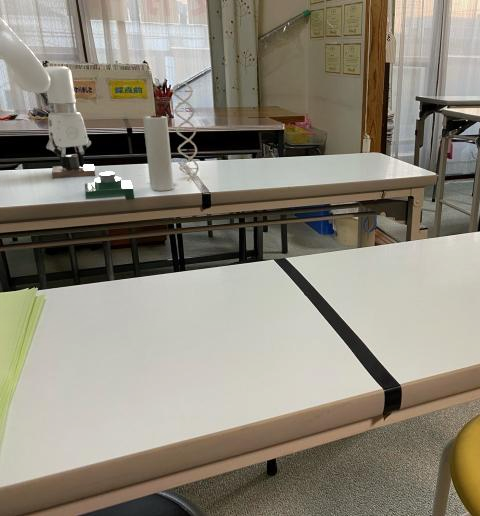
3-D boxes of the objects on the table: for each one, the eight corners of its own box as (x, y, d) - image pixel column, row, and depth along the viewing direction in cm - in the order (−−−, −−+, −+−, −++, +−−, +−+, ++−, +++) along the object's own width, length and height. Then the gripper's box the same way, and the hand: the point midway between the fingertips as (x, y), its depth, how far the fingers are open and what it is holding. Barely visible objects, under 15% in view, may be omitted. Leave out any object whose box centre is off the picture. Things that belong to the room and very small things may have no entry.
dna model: (196, 181, 166) (188, 83, 155) (177, 180, 166) (167, 83, 155) (202, 177, 172) (195, 82, 161) (183, 176, 172) (175, 82, 162)
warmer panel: (53, 182, 160) (51, 172, 159) (54, 175, 168) (52, 166, 167) (95, 179, 165) (94, 169, 164) (94, 173, 173) (93, 163, 172)
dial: (70, 169, 163) (68, 156, 161) (64, 168, 165) (61, 154, 164) (82, 168, 166) (80, 154, 164) (76, 166, 168) (74, 153, 167)
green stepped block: (87, 203, 139) (84, 184, 137) (86, 194, 147) (83, 177, 145) (134, 199, 144) (132, 181, 142) (131, 191, 152) (129, 174, 150)
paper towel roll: (175, 190, 154) (169, 117, 147) (154, 192, 151) (146, 117, 144) (170, 185, 160) (164, 114, 152) (150, 187, 157) (142, 115, 150)
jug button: (100, 182, 141) (99, 175, 140) (99, 179, 145) (98, 172, 144) (116, 181, 143) (115, 174, 142) (115, 178, 146) (114, 171, 146)
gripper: (42, 111, 151) (53, 173, 157) (95, 108, 164) (104, 165, 170) (29, 109, 154) (40, 170, 161) (82, 106, 167) (91, 162, 174)
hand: (73, 167), depth 166 cm, fingers closed on dial, 4 cm apart
